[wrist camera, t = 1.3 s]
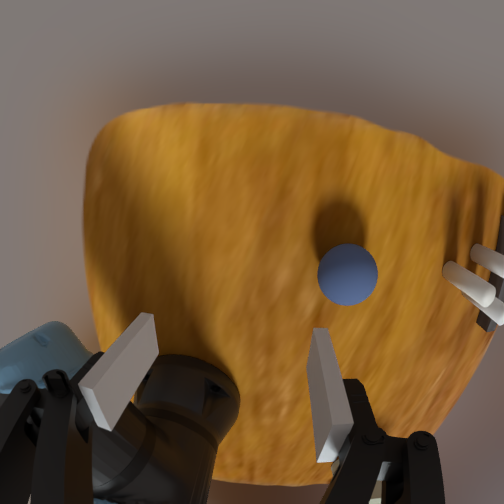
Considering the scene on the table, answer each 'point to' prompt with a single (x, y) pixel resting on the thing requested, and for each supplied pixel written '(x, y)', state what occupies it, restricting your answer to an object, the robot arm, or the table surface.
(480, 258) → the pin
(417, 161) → the table surface
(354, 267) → the ball
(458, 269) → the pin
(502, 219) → the back wall
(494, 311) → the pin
